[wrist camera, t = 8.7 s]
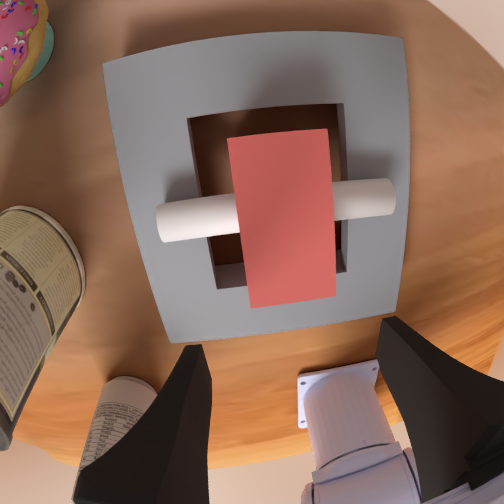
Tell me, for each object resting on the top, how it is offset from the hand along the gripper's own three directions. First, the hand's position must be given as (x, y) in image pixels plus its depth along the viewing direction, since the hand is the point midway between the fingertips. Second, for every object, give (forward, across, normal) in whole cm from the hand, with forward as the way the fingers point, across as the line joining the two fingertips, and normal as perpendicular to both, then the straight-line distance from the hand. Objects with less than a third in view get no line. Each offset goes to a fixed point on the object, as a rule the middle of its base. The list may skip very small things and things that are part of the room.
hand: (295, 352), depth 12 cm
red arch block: (+9, 0, -3) cm, 10 cm away
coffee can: (+10, +19, -1) cm, 21 cm away
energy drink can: (+11, +14, +14) cm, 23 cm away
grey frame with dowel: (+10, 0, -4) cm, 11 cm away
